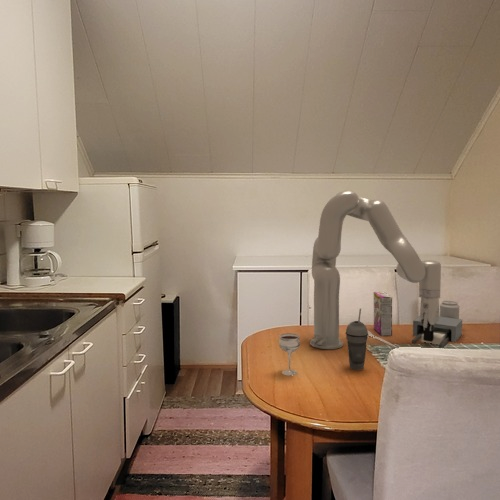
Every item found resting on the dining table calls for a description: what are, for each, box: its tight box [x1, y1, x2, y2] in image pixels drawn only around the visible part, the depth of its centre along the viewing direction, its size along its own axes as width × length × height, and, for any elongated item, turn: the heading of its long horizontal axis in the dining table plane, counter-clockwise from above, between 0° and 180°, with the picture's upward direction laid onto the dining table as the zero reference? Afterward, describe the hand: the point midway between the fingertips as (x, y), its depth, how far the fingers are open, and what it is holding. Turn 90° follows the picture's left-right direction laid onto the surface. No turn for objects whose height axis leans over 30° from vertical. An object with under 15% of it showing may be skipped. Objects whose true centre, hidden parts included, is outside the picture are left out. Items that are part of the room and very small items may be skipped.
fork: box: [367, 329, 398, 349], centre depth 165 cm, size 3×20×2 cm, turn 22°
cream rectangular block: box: [421, 330, 447, 346], centre depth 165 cm, size 10×7×3 cm
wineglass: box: [278, 332, 301, 377], centre depth 134 cm, size 7×7×12 cm
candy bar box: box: [373, 291, 393, 337], centre depth 176 cm, size 11×5×16 cm, turn 179°
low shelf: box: [411, 315, 463, 348], centre depth 167 cm, size 22×16×6 cm
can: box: [439, 300, 460, 319], centre depth 179 cm, size 8×8×12 cm
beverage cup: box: [345, 308, 369, 371], centre depth 137 cm, size 7×7×20 cm
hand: (428, 340), depth 160 cm, fingers closed
